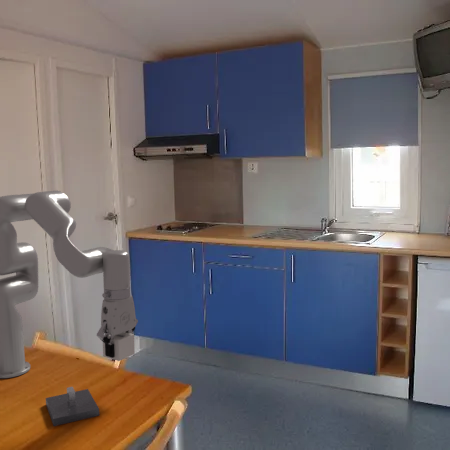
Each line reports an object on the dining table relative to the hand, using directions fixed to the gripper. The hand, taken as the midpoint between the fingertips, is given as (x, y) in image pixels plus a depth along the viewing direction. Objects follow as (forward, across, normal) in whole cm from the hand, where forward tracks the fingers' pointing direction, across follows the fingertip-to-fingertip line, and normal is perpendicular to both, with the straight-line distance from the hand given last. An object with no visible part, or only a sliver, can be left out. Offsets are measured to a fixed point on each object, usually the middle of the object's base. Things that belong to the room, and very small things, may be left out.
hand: (118, 352), depth 153 cm
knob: (+1, 0, 0) cm, 1 cm away
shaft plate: (+13, -14, +5) cm, 20 cm away
